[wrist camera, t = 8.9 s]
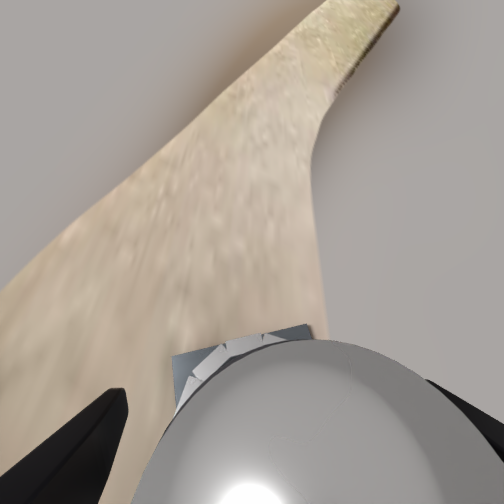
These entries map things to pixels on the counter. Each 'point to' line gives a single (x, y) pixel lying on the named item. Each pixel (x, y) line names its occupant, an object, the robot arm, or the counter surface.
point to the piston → (320, 435)
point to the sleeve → (221, 358)
